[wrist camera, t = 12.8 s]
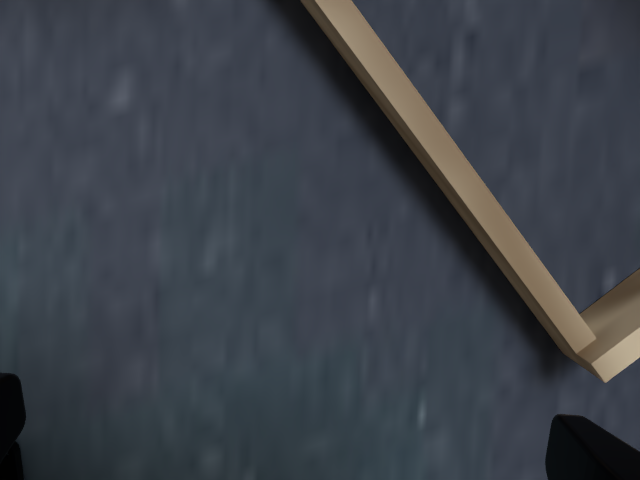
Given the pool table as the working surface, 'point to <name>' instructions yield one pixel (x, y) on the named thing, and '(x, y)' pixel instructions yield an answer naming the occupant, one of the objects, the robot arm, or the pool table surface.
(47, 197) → the pool table surface
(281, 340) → the pool table surface
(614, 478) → the robot arm
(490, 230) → the cold frame
